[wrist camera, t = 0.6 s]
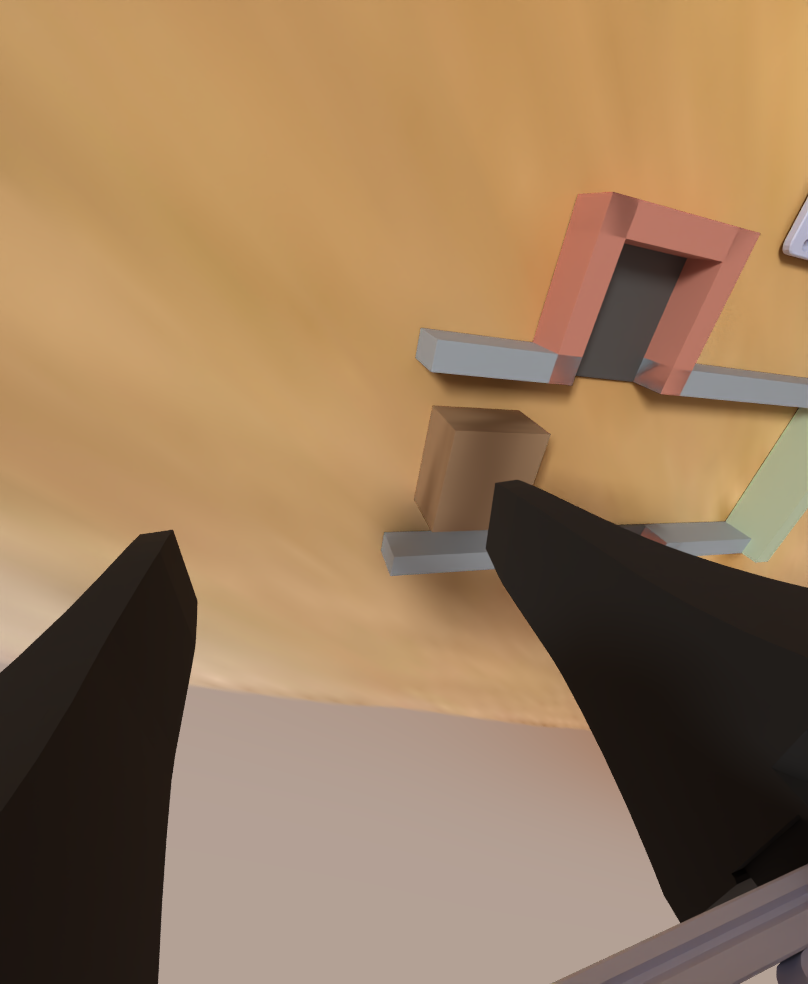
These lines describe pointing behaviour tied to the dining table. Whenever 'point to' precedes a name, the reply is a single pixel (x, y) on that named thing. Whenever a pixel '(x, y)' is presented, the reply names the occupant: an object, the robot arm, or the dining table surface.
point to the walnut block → (474, 463)
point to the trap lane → (634, 363)
